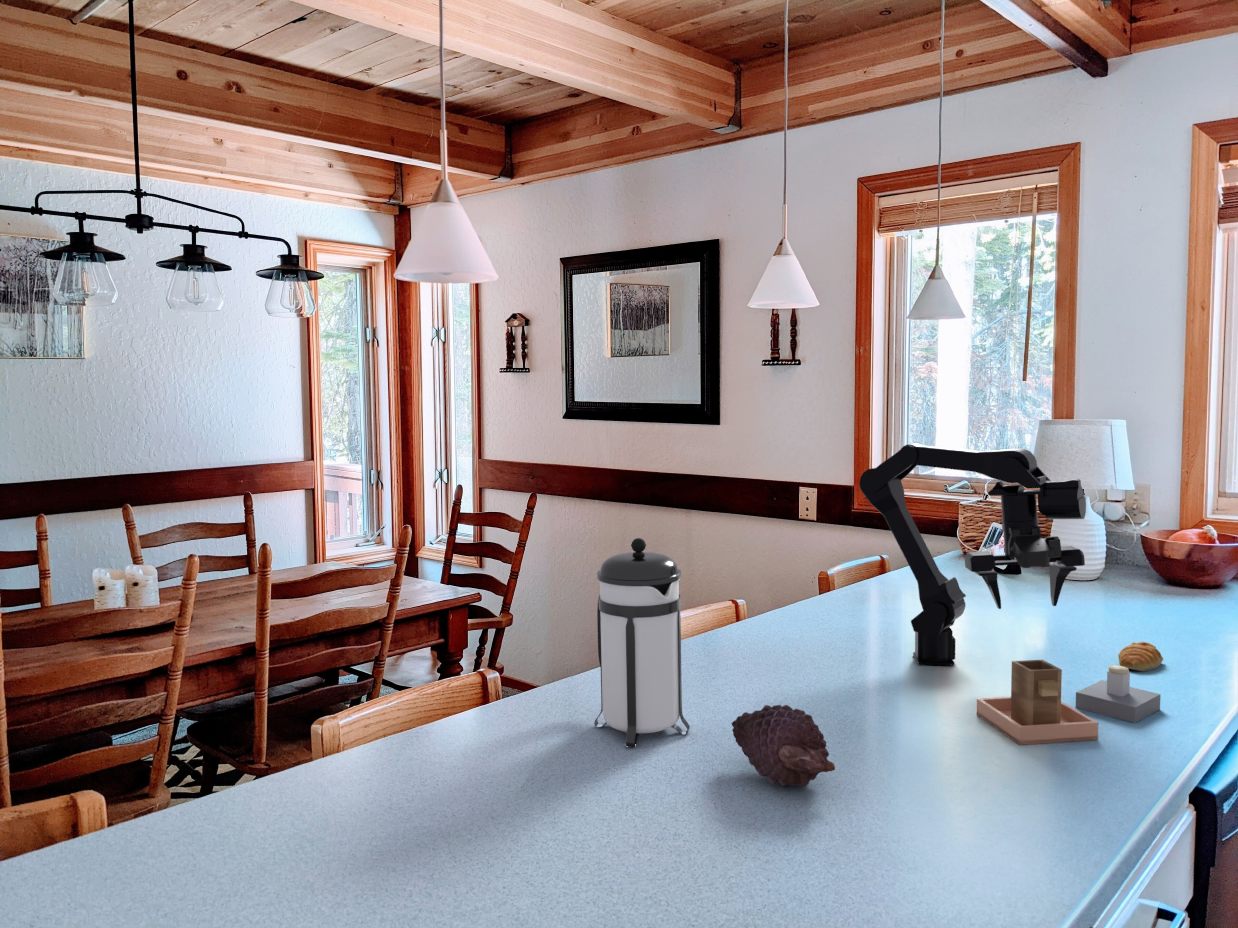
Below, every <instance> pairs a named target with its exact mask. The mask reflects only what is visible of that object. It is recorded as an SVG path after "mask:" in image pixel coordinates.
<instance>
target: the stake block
mask: <svg viewBox="0 0 1238 928" xmlns="http://www.w3.org/2000/svg"><path fill="white" fill-rule="evenodd" d="M1106 672H1107V673H1106V680H1103V679H1101V680H1100V681H1098V682H1095V683H1092V684H1090V685H1088V686H1086V687H1084V688H1081V689H1080V690H1077V691H1076V692H1075V708H1077V709H1081V710H1084V711H1088V712H1092V713H1096V714H1100V715H1103V716H1107V717H1110V718H1115V719H1117V720H1118V719H1119V720H1122V721H1126V722H1129V723H1133V724H1136V723H1138V722H1140V721H1142V720H1143V719H1146V718H1147V717H1149V716H1151V715H1153V714H1154V713H1156V712H1158V711H1160V710H1161V693H1157V692H1153V691H1149V690H1145V689H1140V688H1137V687H1132V686H1130V683H1131V678H1130V677H1131V672H1130V670H1129V668H1126V667H1123V666H1120V665H1113V664H1112V665H1109V666H1108V670H1107V671H1106Z"/></svg>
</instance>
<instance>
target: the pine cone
mask: <svg viewBox="0 0 1238 928" xmlns="http://www.w3.org/2000/svg"><path fill="white" fill-rule="evenodd" d="M762 707H763V708H761V710H760V709H759V710H754V711H753V712H751V713H749V712H747V711H746V712H743V713H742V714H741V715H739V716H737V717H736V719H735V720H733V721H732V722H731V727H732V735H733V738H735V742H736V744H737V746H738V747H740V748H741V750H742V753H743V754H744V755H745V757H747V758H748V761H749V764H750V765H751V766H753V767H754V769H755V770H756V772H757V774H758V775H759V776H760V777H765V778H766V779H767V780H768V782H769V783H771V784H775V785H776V784H777V783H778V784H780V785H781V786H783V787H784V786H787V785H790V787H797V786H801V787H807V785H809V784H810V781H814V780H815V779H816V778H817V776H818V774H819V773H827V772H834V771H835V770H836V766H835V763H834V762H832V761H830V760H828V757H829V756H830V752H829V751H828V749H827V748H826V747H827V741H826V740H825V737H824V734H823V733H822V731H821V730H820V729H819V725H817V724H816V723H815V722H814V719H813V716H812V714H808V713H806V711H805V710H802V709H799V708H794V709H793V708H792V707H791V706H789V705H788V704H784V705H783V706H782V705H781V704H776V705H773V706H771V705H768V704H765V705H763V706H762Z"/></svg>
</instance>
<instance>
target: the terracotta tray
mask: <svg viewBox="0 0 1238 928" xmlns="http://www.w3.org/2000/svg"><path fill="white" fill-rule="evenodd" d="M976 715H977V716H978V717H979V718H981V720H983V721H985V722H987V724H989V725H990V726H992V727H993V728H995V729H997V730H998V731H999V732H1000V733H1002V734H1003V735H1004V736H1006V737H1007V738H1009V739H1010V740H1012V741H1013V742H1014V743H1016V744H1017V745H1019V746H1027V745H1039V744H1042V745H1043V744H1055V743H1056V744H1057V743H1069V742H1070V743H1071V742H1072V743H1073V742H1084V741H1098V740H1099V722H1098V721H1096V720H1095V719H1093V718H1091V717H1089V716H1088V715H1086V714H1084V713H1082V712H1081V711H1079V710H1077V709H1076V708H1074V707H1073V706H1070V705H1069V704H1067V703H1065V702H1063V701H1062V700H1061V723H1058V724H1042V725H1027V726H1022V725H1021V724H1019V723H1018V722H1016V721H1015V720H1013V719H1012V718H1011V696H1000V697H985V698H984V697H983V698H982V697H981V698H977V699H976Z"/></svg>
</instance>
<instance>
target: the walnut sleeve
mask: <svg viewBox="0 0 1238 928" xmlns="http://www.w3.org/2000/svg"><path fill="white" fill-rule="evenodd" d="M1062 673H1063V669H1061V668H1059V667H1058V666H1056V665H1053V664H1052V663H1050V662H1048V661H1046V660H1044V659H1029V660H1028V659H1027V660H1025V659H1024V660H1011V682H1010V683H1011V686H1010V687H1011V689H1010V691H1011V692H1010V697H1011V718H1012V719H1013V720H1015V721H1016V722H1018V723H1019V724H1021V725H1022V726H1027V725H1042V724H1058V723H1061V701H1062V677H1063V676H1062Z"/></svg>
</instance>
